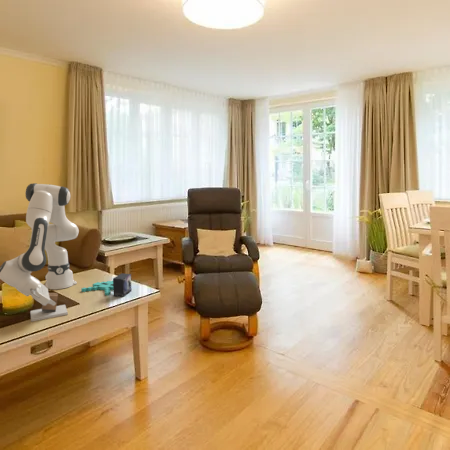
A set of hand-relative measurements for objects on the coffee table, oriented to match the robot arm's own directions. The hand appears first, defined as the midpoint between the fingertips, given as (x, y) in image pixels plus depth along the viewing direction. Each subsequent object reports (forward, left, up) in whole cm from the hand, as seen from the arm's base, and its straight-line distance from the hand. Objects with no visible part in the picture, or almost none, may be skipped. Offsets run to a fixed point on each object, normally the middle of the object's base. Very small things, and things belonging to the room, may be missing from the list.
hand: (54, 302), depth 180 cm
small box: (-11, +36, -6) cm, 38 cm away
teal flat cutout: (-26, +30, -6) cm, 40 cm away
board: (0, -3, -5) cm, 6 cm away
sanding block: (0, -3, -3) cm, 5 cm away
